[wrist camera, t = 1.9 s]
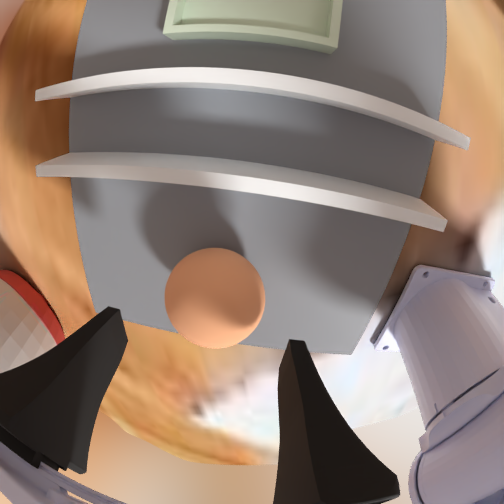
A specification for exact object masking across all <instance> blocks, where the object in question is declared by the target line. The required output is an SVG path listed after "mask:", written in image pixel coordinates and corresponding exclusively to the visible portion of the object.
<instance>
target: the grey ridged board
mask: <svg viewBox="0 0 504 504" xmlns="http://www.w3.org/2000/svg"><path fill="white" fill-rule="evenodd" d="M169 1H170V0H87V3H86V7H85V11H84V14H83V18H82V23H81V27H80V32H79V36H78V42H77V47H76V53H75V60H74V67H73V75H72V80H71V81H67V82H63V83H59V84H55V85H52V86H48V87H45V88H41V89H38V90H36V93H35V101H42V100H50V99H59V98H70V114H69V153H67V154H64V155H62V156H59V157H56V158H54V159H51V160H48V161H46V162H43V163H41V164H38V165H36V176H37V177H71V188H72V198H73V207H74V215H75V222H76V228H77V234H78V240H79V246H80V251H81V256H82V261H83V265H84V270H85V274H86V278H87V282H88V286H89V290H90V294H91V297H92V301H93V305H94V308H95V311H96V313H100V312H101V311H103V310H104V309H105V308H107V307H108V306H110V307H114V308H117V309H120V311H121V316H122V320H125V321H129V322H133V323H137V324H141V325H145V326H149V327H153V328H157V329H162V330H166V331H171V332H176V333H178V331H177V330H176V329H175V328H174V326H173V325H172V323H171V321H170V319H169V317H168V315H167V312H166V308H165V287H166V283H167V280H168V278H169V275H170V274H171V272H172V270H173V269H174V267H175V266H176V265H177V264H178V263H179V262H180V261H181V260H182V259H183V258H184V257H186V256H187V255H189V254H191V253H193V252H195V251H197V250H201V249H206V248H223V249H228V250H231V251H234V252H236V253H238V254H240V255H241V256H243V257H244V258H246V259H247V260H248V261H249V262H250V263H251V264H252V265H253V266H254V267H255V269H256V270H257V272H258V273H259V275H260V277H261V279H262V282H263V285H264V290H265V307H264V312H263V315H262V318H261V320H260V322H259V324H258V325H257V327H256V328H255V330H254V331H253V332H252V333H251V334H250V335H249V336H248V337H247V338H245V339H244V340H242V341H241V342H239V343H237V344H243V345H250V346H258V347H265V348H274V349H283V350H286V347H287V344H288V341H289V339H293V340H303V341H305V343H306V345H307V348H308V350H309V352H315V353H329V354H347V355H351V354H352V353H353V351H354V349H355V347H356V346H357V344H358V342H359V340H360V338H361V337H362V335H363V333H364V331H365V329H366V327H367V325H368V323H369V321H370V319H371V318H372V316H373V314H374V312H375V310H376V307H377V305H378V303H379V301H380V299H381V297H382V295H383V293H384V291H385V288H386V286H387V284H388V282H389V280H390V277H391V275H392V273H393V270H394V268H395V266H396V263H397V261H398V258H399V256H400V253H401V251H402V248H403V246H404V243H405V240H406V238H407V235H408V232H409V229H410V227H411V224H414V225H418V226H422V227H426V228H429V229H433V230H437V231H441V232H444V230H445V227H446V224H447V222H448V220H447V219H445V218H444V217H443V216H442V215H440V214H439V213H438V212H437V211H435V210H434V209H433V208H431V207H430V206H429V205H428V204H426V203H425V202H424V201H422V200H421V199H420V196H421V193H422V189H423V186H424V182H425V179H426V175H427V171H428V167H429V163H430V159H431V155H432V151H433V146H434V142H435V140H437V141H440V142H443V143H447V144H450V145H453V146H456V147H459V148H462V149H465V150H468V148H469V144H470V139H471V138H470V137H468V136H466V135H464V134H462V133H460V132H458V131H457V130H455V129H453V128H451V127H449V126H447V125H445V124H443V123H440V122H438V121H439V115H440V109H441V102H442V95H443V86H444V76H445V64H446V43H447V20H446V0H343V3H342V13H341V22H340V31H339V39H338V47H337V49H336V50H335V51H334V52H333V53H332V54H327V53H323V52H318V51H314V50H309V49H304V48H298V47H293V46H286V45H280V44H272V43H264V42H254V41H242V40H222V39H189V40H172V39H170V38H169V37H167V36H166V35H164V34H163V29H164V24H165V19H166V14H167V10H168V5H169Z"/></svg>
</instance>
